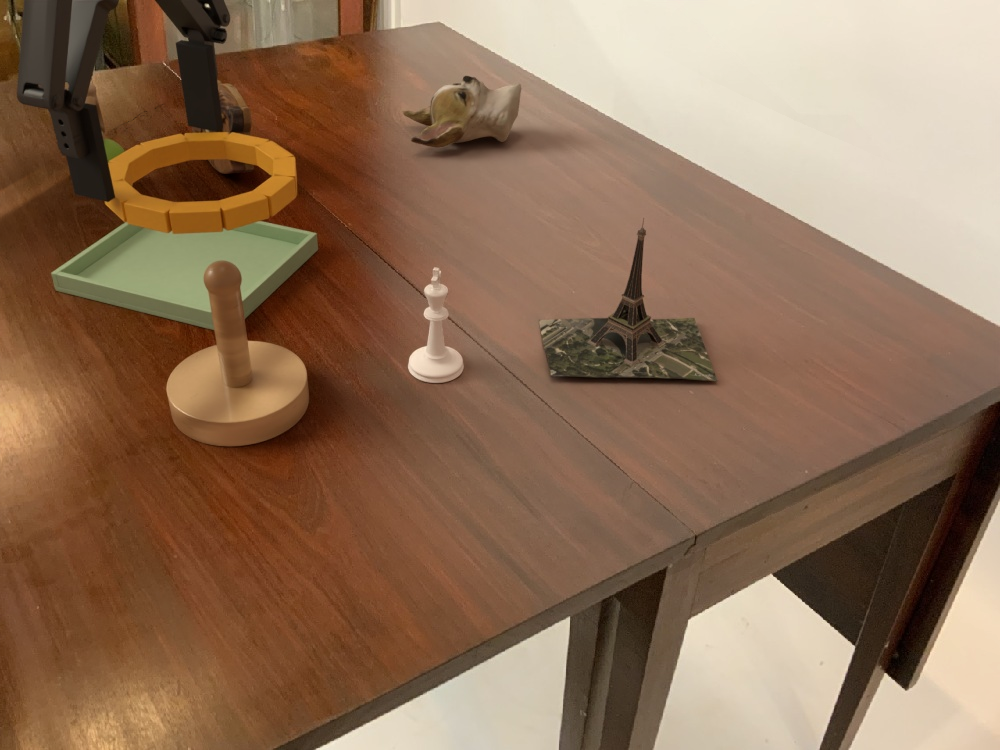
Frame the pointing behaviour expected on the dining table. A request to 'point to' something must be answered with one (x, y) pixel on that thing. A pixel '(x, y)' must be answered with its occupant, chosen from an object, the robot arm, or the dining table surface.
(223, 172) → the wooden carving
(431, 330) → the chess piece
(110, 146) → the snail figurine
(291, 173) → the hoop
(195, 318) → the tray
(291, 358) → the post
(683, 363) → the eiffel tower figurine
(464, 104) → the ceramic sculpture
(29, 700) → the dining table surface
